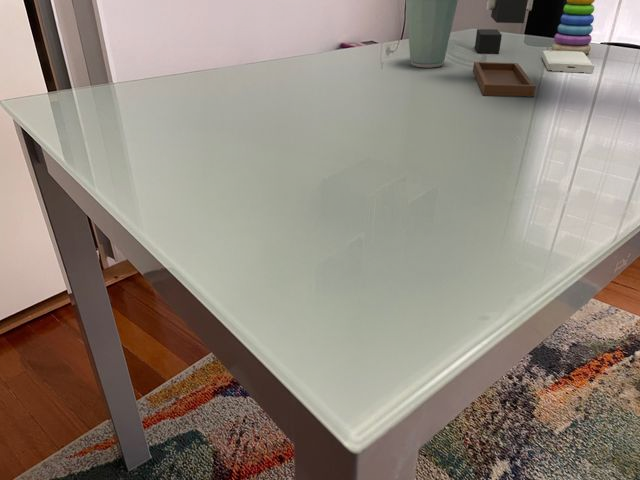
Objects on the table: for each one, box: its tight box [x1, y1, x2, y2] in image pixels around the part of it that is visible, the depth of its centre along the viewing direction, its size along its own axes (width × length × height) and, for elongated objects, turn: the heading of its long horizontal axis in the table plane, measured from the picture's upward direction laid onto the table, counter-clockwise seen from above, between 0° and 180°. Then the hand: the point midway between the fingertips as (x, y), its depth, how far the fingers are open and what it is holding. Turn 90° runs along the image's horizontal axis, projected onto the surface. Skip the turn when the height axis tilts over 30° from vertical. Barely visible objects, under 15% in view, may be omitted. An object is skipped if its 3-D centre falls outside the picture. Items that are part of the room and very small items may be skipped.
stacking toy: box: [551, 0, 596, 55], centre depth 112 cm, size 8×8×19 cm
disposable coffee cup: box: [405, 0, 459, 68], centre depth 103 cm, size 11×11×15 cm
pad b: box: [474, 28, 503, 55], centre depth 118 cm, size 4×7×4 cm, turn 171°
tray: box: [472, 61, 537, 97], centre depth 94 cm, size 8×17×2 cm, turn 172°
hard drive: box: [541, 49, 595, 74], centre depth 106 cm, size 2×8×12 cm
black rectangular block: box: [490, 0, 528, 24], centre depth 91 cm, size 4×7×4 cm, turn 172°
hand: (508, 10), depth 91 cm, fingers closed on black rectangular block, 4 cm apart
